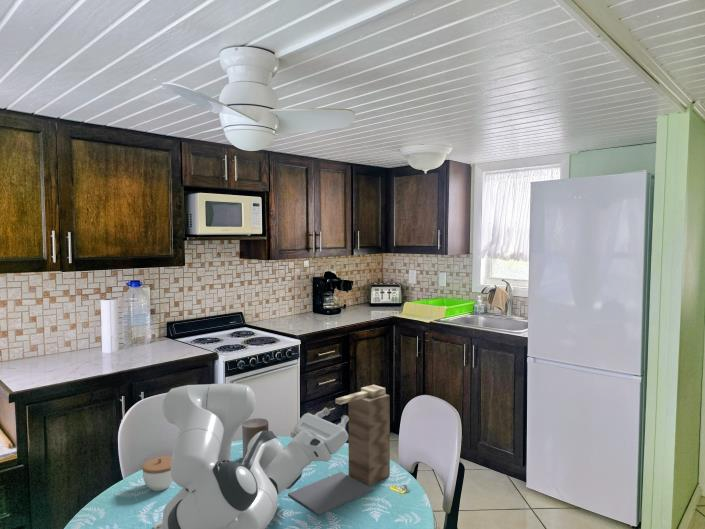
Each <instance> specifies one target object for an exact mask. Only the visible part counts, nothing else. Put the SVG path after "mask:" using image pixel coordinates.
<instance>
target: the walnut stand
mask: <svg viewBox="0 0 705 529" xmlns="http://www.w3.org/2000/svg"><path fill="white" fill-rule="evenodd" d="M358 392H361V390H360V391H357V392H354V393H358ZM354 393H350V394H348V395H351V394H354ZM390 399H391V398H390V394H387V393H385V394H384V395H380V396H377V397H370V396H369V397H365V398H362V399H358V400H355V401H351V402H348V403H347V404H348V411H347V412H348V415H347V416H348V418H349V421H348V422H347V423H348V424H347V425H348V428H347V429H348V476H350V477H352V478H354V479H356V480H358V481H360V482H361V483H363V484H365V485H367V486H369V487H370V486H371V485H373V484H375V483H377V482H380V481H383V480H384V479H387V478H389V477H390V476H391V475H390V474H391V471H390V468H391V466H390V463H391V460H390V458H391V455H390V454H391V451H390V450H391V445H390V443H391V442H390V441H391V437H390V436H391V435H390V434H391V430H390V429H391V425H390V424H391V421H390V420H391V419H390V416H391V414H390V412H391V411H390V410H391V408H390V406H391V404H390V403H391V401H390ZM388 476H389V477H388ZM386 477H387V478H386Z"/></svg>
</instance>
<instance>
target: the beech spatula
mask: <svg viewBox="0 0 705 529" xmlns="http://www.w3.org/2000/svg"><path fill="white" fill-rule="evenodd" d="M360 391H361V392H360ZM360 391H357V392H358V393H356V392H354V394H353V393H350V394H351V395H349V394H348V395H344V396H340V397H337V398H335V400H334V401H335V404H338V405H343V404H348V402H351V401H355V400H358V399H362V398H365V397H369V396H370V397H377V396H380V395H384V394H386V387H383V386H379V385H376V384H372V385H371V384H370V385H366V386H363V387H360Z"/></svg>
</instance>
